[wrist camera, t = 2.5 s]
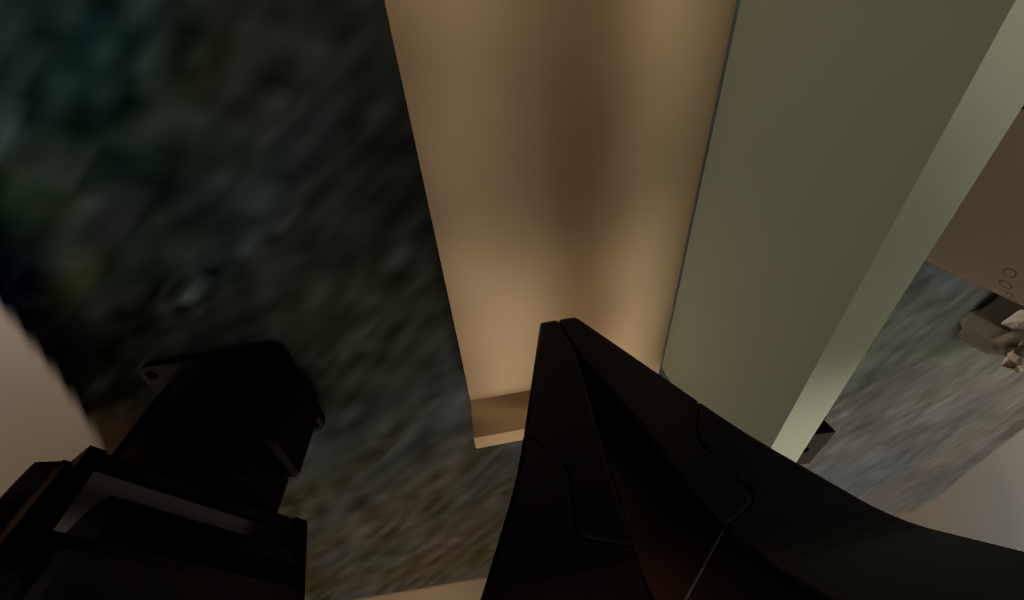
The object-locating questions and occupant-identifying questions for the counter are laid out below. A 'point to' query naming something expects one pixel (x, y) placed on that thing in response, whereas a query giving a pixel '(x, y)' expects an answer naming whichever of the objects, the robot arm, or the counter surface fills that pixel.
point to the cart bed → (557, 170)
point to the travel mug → (990, 223)
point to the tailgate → (831, 192)
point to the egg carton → (997, 331)
